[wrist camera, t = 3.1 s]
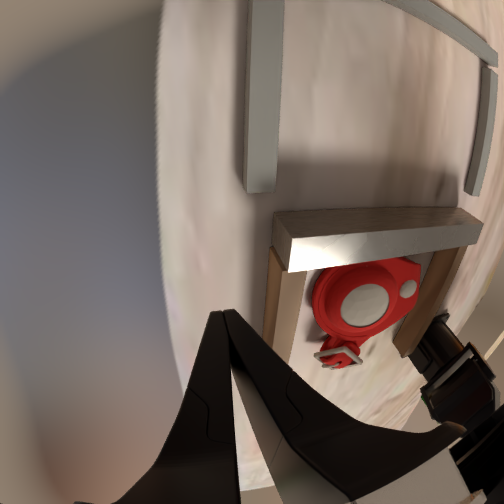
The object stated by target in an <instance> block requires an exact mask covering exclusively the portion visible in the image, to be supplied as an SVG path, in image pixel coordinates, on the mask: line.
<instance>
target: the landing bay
mask: <svg viewBox="0 0 504 504" xmlns="http://www.w3.org/2000/svg"><path fill="white" fill-rule="evenodd" d="M382 1H384V2H387V3H389V4H391V5H393V6H395V7H398V8H400V9H402V10H404V11H406V12H408V13H410V14H412V15H414V16H416V17H417V18H419V19H421V20H423V21H425V22H427V23H428V24H430V25H432V26H433V27H435V28H437V29H439V30H440V31H442V32H443V33H445V34H447V35H448V36H450V37H451V38H453V39H454V40H456V41H457V42H459V43H460V44H462V45H463V46H464V47H466V48H467V49H469V50H470V51H471V52H473V53H474V54H475V55H477V56H478V57H479V58H480V59H482V60H483V61H484V62H485V63H487V64H488V65H489V66H493V67H497V68H498V53H497V52H496V51H495V50H494V49H492V48H491V47H490V46H489V45H488V44H487V43H486V42H485V41H483V40H482V39H481V38H480V37H479V36H477V35H476V34H475V33H474V32H473V31H471V30H470V29H469V28H467V27H466V26H465V25H464V24H462V23H461V22H460V21H458V20H457V19H455V18H454V17H453V16H451V15H450V14H448V13H447V12H445V11H444V10H442V9H441V8H439V7H438V6H436V5H435V4H433V3H432V2H430V1H428V0H382ZM283 32H284V0H248V24H247V51H246V81H245V116H244V157H243V188H244V190H245V191H246V193H247V194H248V193H268V192H275V188H276V172H277V157H278V140H279V122H280V103H281V82H282V59H283ZM497 88H498V75H497V74H496V73H495V72H494V71H493V70H492V69H489V68H484V67H482V86H481V100H480V110H479V119H478V126H477V133H476V139H475V145H474V151H473V156H472V161H471V165H470V170H469V174H468V178H467V182H466V186H465V190H464V192H466V193H468V194H469V195H471V196H478V197H479V195H480V191H481V188H482V184H483V180H484V176H485V172H486V167H487V163H488V158H489V153H490V148H491V142H492V136H493V129H494V122H495V113H496V103H497Z"/></svg>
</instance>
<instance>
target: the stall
mask: <svg viewBox="0 0 504 504" xmlns="http://www.w3.org/2000/svg"><path fill="white" fill-rule="evenodd" d="M467 247H468V245H467V246H461V247H456V248H450V249H444V250H438V251H435V253H434V255H433V258H432V260H431V263H430V265H429V268H428V270H427V273H426V275H425V278H424V280H423V282H422V284H421V287H420V289H419V295H418V298H417V301H416V304H415V306H414V307H413V309H412V310H410V311H409V312H408V314H407V316H406V318H405V320H404V322H403V324H402V326H401V328H400V330H399V332H398V333H397V335H396V337H395V339H394V341H393V344H394V345H395V347H396V348H397V350H398V351H399V353H400V354H401V355H402V357H405V356H407V355H410V354H412V352H413V351H414V349H415V348H416V346H417V345H418V343H419V341H420V340H421V338H422V337H423V335H424V333H425V332H426V330H427V328H428V327H429V325H430V323H431V321H432V320H433V318H434V316H435V314H436V312H437V311H438V309H439V307H440V305H441V303H442V301H443V299H444V297H445V295H446V293H447V291H448V289H449V287H450V285H451V283H452V281H453V279H454V277H455V275H456V272H457V270H458V268H459V266H460V263H461V261H462V259H463V256H464V254H465V252H466V249H467ZM306 274H307V270H304V271H296V272H288V271H287V269H286V268H285V266H284V264H283V262H282V260H281V259H280V257H279V255H278V253H277V252H276V250H275V248H274V247H270V251H269V264H268V277H267V289H266V301H265V313H264V324H263V336H262V339H263V340H264V341H265V342H266V343H267V344H268V345H269V346H270V347H271V348H272V349H273V350H274V351H275V352H276V353H277V354H278V355H279V356H280V357H281V358H282V359H283V360H284V361H285V362H286V363H287V364H288V362H289V358H290V354H291V349H292V345H293V340H294V335H295V331H296V326H297V321H298V316H299V311H300V306H301V301H302V296H303V291H304V285H305V280H306Z"/></svg>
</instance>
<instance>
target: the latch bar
mask: <svg viewBox="0 0 504 504" xmlns="http://www.w3.org/2000/svg"><path fill="white" fill-rule="evenodd" d="M483 224H484V223H482V222H481V221H480V220H478V219H477V218H475V217H474V216H472V215H471V214H469V213H468V212H467V211H465V210H464V209H462V208H444V207H415V208H361V209H332V210H310V211H291V212H274V219H273V232H272V244H273V246H274V248H275V250H276V252H277V253H278V255H279V257H280V259H281V260H282V262H283V264H284V266H285V268H286V269H287V271H288V272H296V271H304V270H311V269H319V268H326V267H334V266H341V265H348V264H355V263H362V262H368V261H375V260H382V259H388V258H395V257H401V256H408V255H414V254H420V253H426V252H432V251H438V250H444V249H450V248H456V247H461V246H467V245H473V244H476V243H477V241H478V238H479V235H480V233H481V230H482V227H483Z"/></svg>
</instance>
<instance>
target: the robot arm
mask: <svg viewBox="0 0 504 504" xmlns="http://www.w3.org/2000/svg"><path fill="white" fill-rule="evenodd" d="M449 316H450V315H449V313H446V314H443V315H441V316H438V317H436V318H434V319H433V320H432V321H431V323H430V325H429V327H428V328H427V330H426V332H425V333H424V335H423V337H422V338H421V340H420V341H419V343H418V345H417V346H416V348H415V349H414V351H413V352H412V354H410V355H407V356H408V357H409V358H410V360H411V361H412V363H413V364H414V366H415V367H416V369H417V370H418V372H419V373H420V374H423V376H424V377H425V379H426V380H427V382H428V383H427V384H426V385H425V386H423V387H421V388H420V390H421V393H422V396H423V398H424V401H425V403H426V405H427V407H428V409H429V413H430V416H431V419H433V420H436V421H437V422H438V423H439V424H440V425H439V426H438V427H436V428H435V429H433V430H431V431H429V432H425V433H411V432H405V431H400V430H394V429H388V428H383V427H378V426H373V425H369V424H365V423H363V422H360V421H358V420H356V419H354V418H353V417H351V416H350V415H348V414H347V413H345V412H344V411H342V410H341V409H340V408H338V407H337V406H335V405H334V404H333V403H331V402H330V401H329V400H327V399H326V398H324V397H323V396H322V395H321V394H319V393H318V392H317V391H315V390H314V389H313V388H312V387H311V386H309V385H308V384H307V383H306V382H305V381H304V380H303V379H302V378H301V377H300V376H299V375H298V374H297V373H296V372H295V371H293V369H292V368H291V367H290V366H289V365H288V364H287V363H286V362H285V361H284V360H283V359H282V358H281V357H280V356H279V355H278V354H277V353H276V352H275V351H274V350H273V349H272V348H271V347H270V346H269V345H268V344H267V343H266V342H265V341H264V340H263V339H262V338H261V337H260V336H259V335H258V334H257V332H256V331H255V330H254V329H253V328H252V327H251V326H250V325H249V324H248V323H247V322H246V321H245V320H244V319H243V318H242V316H241V315H240V314H239V313H238V312H237V311H236V310H235V309H227V310H223V312H222V311H221V310H219V311H212V312H210V315H209V318H208V321H207V324H206V327H205V330H204V334H203V337H202V340H201V343H200V346H199V350H198V353H197V356H196V359H195V363H194V366H193V369H192V372H191V376H190V379H189V382H188V386H187V389H186V392H185V395H184V398H183V401H182V404H181V408H180V410H179V413H178V415H177V417H176V420H175V422H174V424H173V426H172V429H171V431H170V433H169V435H168V437H167V439H166V441H165V443H164V446H163V448H162V450H161V452H160V454H159V456H158V458H157V459H156V461H155V462H154V464H153V465H152V467H151V468H150V469H149V470H148V471H147V472H146V473H145V474H144V475H143V476H142V477H141V478H140V479H139V480H138V481H137V482H136V483H135V485H134V486H133V487H132V488H130V489H129V490H128V491H127V492H126V493H125V495H123V496H122V497H121V498H120V499H119V500H118V501H116V502H114V503H112V504H241V497H240V487H239V476H238V465H237V453H236V440H235V427H234V412H233V397H232V381H231V370H232V373H233V376H234V379H235V382H236V385H237V388H238V391H239V393H240V396H241V399H242V402H243V405H244V407H245V410H246V413H247V415H248V418H249V421H250V424H251V426H252V429H253V431H254V434H255V437H256V439H257V442H258V444H259V447H260V449H261V452H262V454H263V457H264V459H265V462H266V464H267V467H268V469H269V471H270V474H271V476H272V479H273V481H274V483H275V486H276V488H277V490H278V492H279V495H280V496H281V499H282V501H283V504H504V404H503V405H502V406H500V392H499V390H498V388H497V387H496V385H495V384H494V382H493V380H494V379H495V378H496V375H495V374H494V372H493V371H492V369H491V368H490V367H489V365H488V363H487V362H486V360H485V359H484V357H483V356H482V355H481V354H480V352H479V351H478V350H477V348H476V347H475V346H474V345H473V344H472V343H470V342H469V343H467V345H466V346H465V347H464V346H463V345H462V343H461V342H460V341H459V340H458V338H457V337H456V336H455V335H454V333H453V332H452V331H451V330H450V328H449V327H448V326H447V325H446V324H445V323H446V321H447V320H448V318H449ZM472 353H473V354H474V356H473V357H472V358H471V359H470V358H469V357H470V356H471V355H472ZM400 356H401V358H405V357H407V356H405V357H402V355H400ZM459 437H460V438H462V439H461V440H459V441H458V442H457V443H456V444H454V445H453V446H452V447H451V448H449V449H448V446H449V445H450V444H452V443H453V442H454V441H456V440H457V439H458V438H459ZM0 504H1V503H0ZM73 504H92V503H86V502H80V501H76V502H74V503H73Z"/></svg>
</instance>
